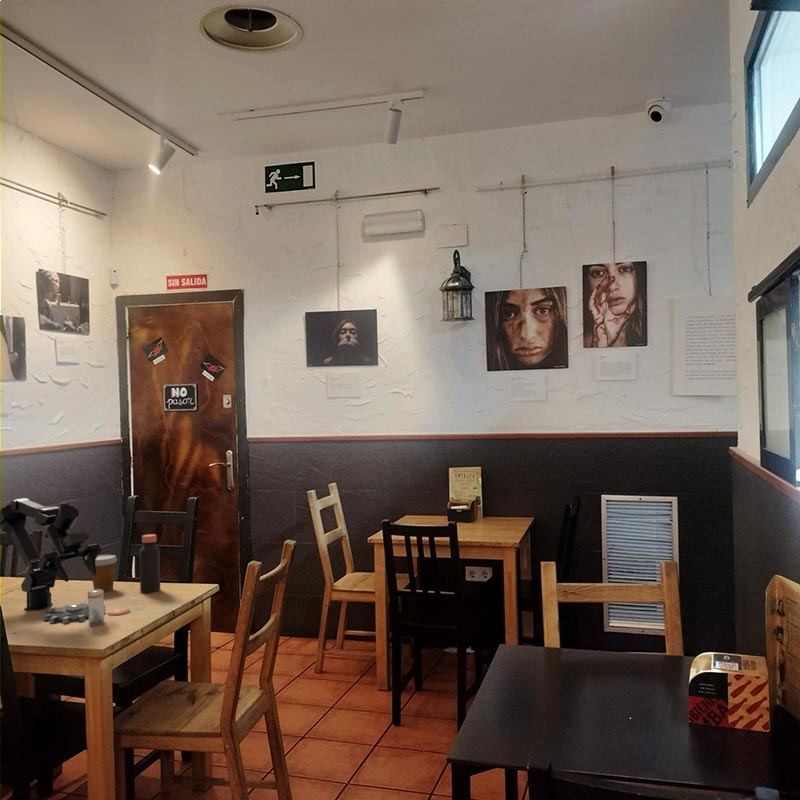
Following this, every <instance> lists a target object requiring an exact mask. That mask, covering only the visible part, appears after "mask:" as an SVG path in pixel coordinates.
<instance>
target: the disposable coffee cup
mask: <svg viewBox="0 0 800 800" xmlns="http://www.w3.org/2000/svg"><path fill="white" fill-rule="evenodd" d="M117 561H118V558H117V556H116V555H115V554H99V555H98V556H97V558H96V559H95V564H96V575H95V576H94V575H93V574H92V573H91V578H92V586H93V590H95V589H102V590H104V593H107V592H111V591H113V590H114V582H115V573H116V563H117Z"/></svg>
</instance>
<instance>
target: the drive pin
mask: <svg viewBox="0 0 800 800" xmlns="http://www.w3.org/2000/svg"><path fill="white" fill-rule="evenodd" d="M104 594H105V592H104V590H102V589H95V590H94V589H91V590H89V591H87V604H88V618H87V619H88V626H89V627H95V626H102V625H104V624H105V613H104V605H105V603H104V597H105V595H104Z"/></svg>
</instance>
